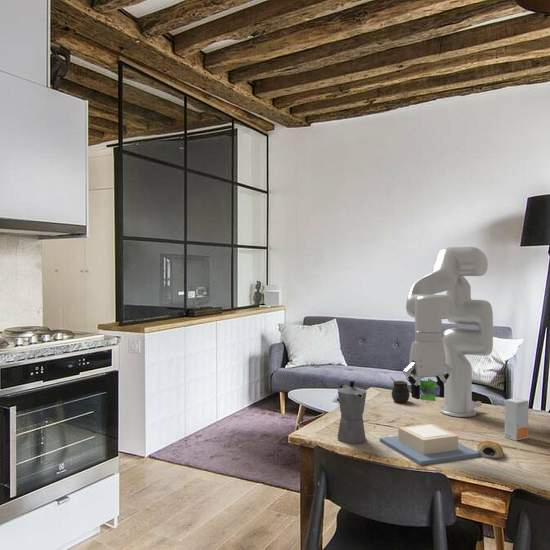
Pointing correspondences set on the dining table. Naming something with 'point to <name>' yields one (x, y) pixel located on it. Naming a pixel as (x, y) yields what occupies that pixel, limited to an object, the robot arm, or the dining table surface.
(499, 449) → the pastry
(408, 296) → the robot arm
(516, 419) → the skincare box
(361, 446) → the dining table surface
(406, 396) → the mate gourd
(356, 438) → the coffeepot
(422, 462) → the board
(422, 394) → the geometric puzzle
